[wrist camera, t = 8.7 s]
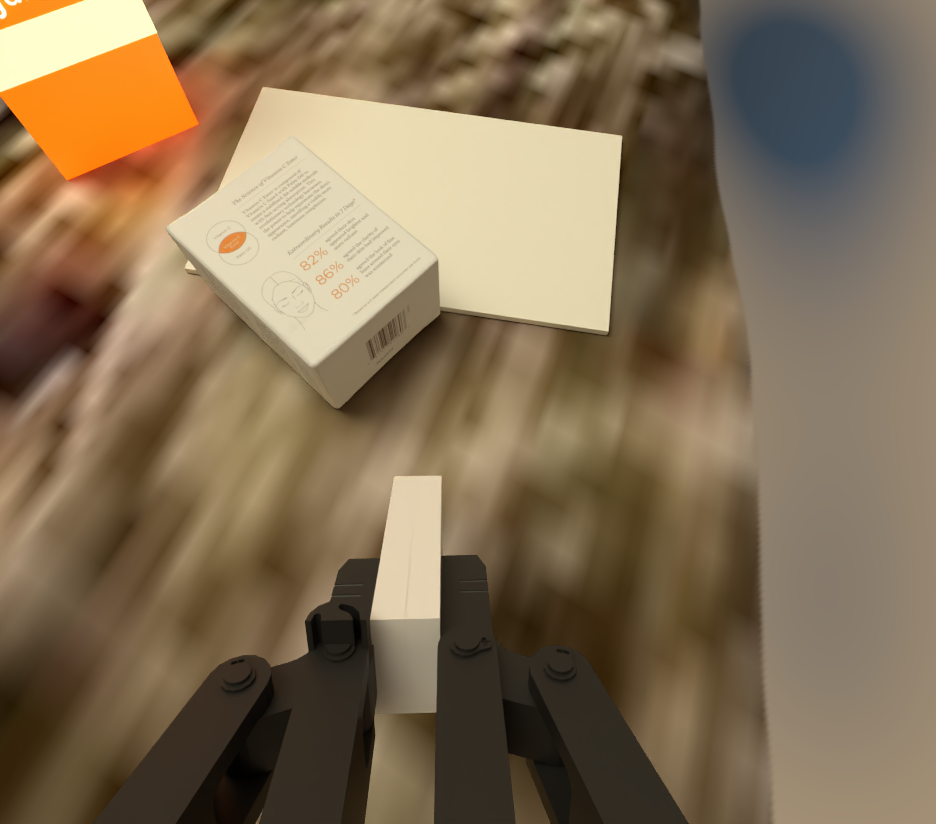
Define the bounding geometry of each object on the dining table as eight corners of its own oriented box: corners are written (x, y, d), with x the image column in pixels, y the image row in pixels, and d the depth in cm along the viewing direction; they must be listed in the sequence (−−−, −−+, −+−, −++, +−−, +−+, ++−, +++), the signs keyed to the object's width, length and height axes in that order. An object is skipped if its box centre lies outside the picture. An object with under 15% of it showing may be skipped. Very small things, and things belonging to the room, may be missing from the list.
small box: (444, 315, 32) (317, 204, 34) (441, 256, 27) (292, 129, 29) (335, 413, 30) (208, 289, 32) (309, 370, 25) (160, 225, 27)
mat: (187, 272, 33) (184, 268, 33) (264, 92, 39) (262, 86, 39) (606, 335, 32) (608, 331, 32) (620, 141, 38) (622, 135, 38)
